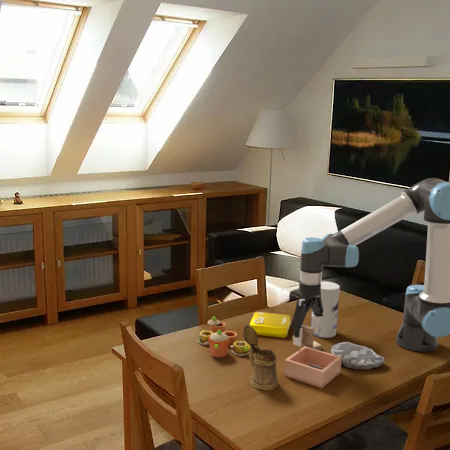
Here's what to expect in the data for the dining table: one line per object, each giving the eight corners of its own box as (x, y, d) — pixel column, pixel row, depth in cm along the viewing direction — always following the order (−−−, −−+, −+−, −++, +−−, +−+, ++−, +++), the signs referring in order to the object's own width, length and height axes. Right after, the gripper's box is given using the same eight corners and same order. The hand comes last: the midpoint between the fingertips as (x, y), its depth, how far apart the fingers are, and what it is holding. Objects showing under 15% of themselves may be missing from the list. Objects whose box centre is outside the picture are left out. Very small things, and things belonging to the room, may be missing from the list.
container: (338, 338, 225) (341, 289, 221) (312, 337, 226) (315, 288, 221) (333, 328, 235) (337, 281, 231) (309, 327, 235) (312, 280, 231)
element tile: (286, 339, 224) (287, 327, 223) (248, 334, 227) (248, 323, 226) (290, 324, 239) (291, 313, 238) (254, 320, 242) (254, 310, 241)
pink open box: (340, 373, 197) (341, 357, 195) (322, 389, 186) (323, 372, 184) (303, 361, 205) (304, 346, 203) (283, 376, 193) (284, 359, 192)
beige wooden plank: (321, 350, 215) (322, 345, 215) (312, 352, 213) (312, 347, 213) (301, 338, 225) (301, 333, 225) (292, 340, 223) (292, 336, 223)
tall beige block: (312, 358, 207) (314, 327, 204) (309, 360, 206) (311, 329, 203) (300, 355, 210) (302, 324, 207) (298, 357, 208) (300, 326, 205)
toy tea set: (255, 356, 209) (256, 331, 206) (216, 363, 202) (216, 337, 200) (223, 329, 231) (223, 306, 229) (187, 335, 225) (187, 312, 222)
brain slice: (317, 358, 208) (318, 350, 208) (347, 346, 219) (348, 339, 218) (362, 379, 194) (362, 371, 193) (391, 365, 205) (392, 358, 204)
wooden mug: (252, 370, 197) (254, 321, 193) (283, 385, 188) (286, 333, 184) (234, 379, 190) (236, 328, 186) (266, 394, 181) (269, 341, 177)
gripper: (316, 271, 213) (312, 325, 218) (283, 288, 193) (279, 347, 198) (335, 276, 209) (331, 330, 214) (302, 293, 189) (299, 353, 194)
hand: (306, 339), depth 206 cm, fingers open, 13 cm apart
